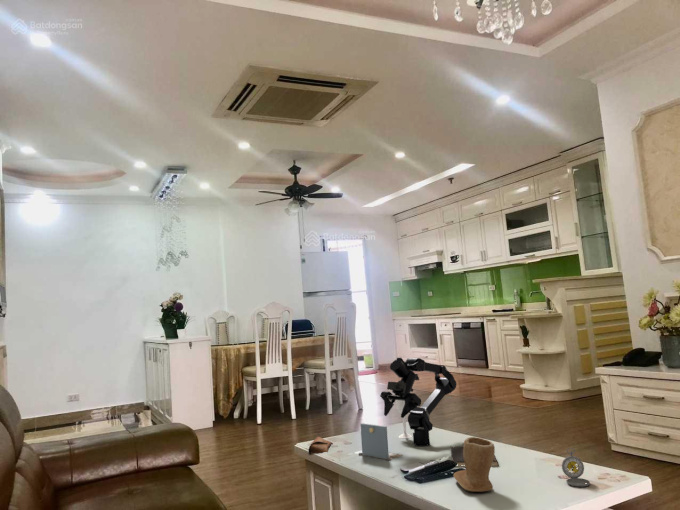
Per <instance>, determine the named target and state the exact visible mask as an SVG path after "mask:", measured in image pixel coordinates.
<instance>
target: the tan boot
mask: <svg viewBox="0 0 680 510" xmlns="http://www.w3.org/2000/svg"><path fill="white" fill-rule="evenodd" d="M463 441H464V442H463V446H464V448H463V457H464V461H465V466H464V467H465V469H463V470H458V471H456V472H454V473H453V477H454V480H456V482H457V483H458V485H460V487H461V488H462V489H464V490H465V491H467V492H474V493H475V492H476V493H477V492H478V493H480V492H481V493H482V492H488V491H492V490H493V484H492V482H491V480H490V477H489V475H490V470H491V467H492V466H491V465H492V462H493V459H494V455H495V452H496V450H495V445H494V443H493V442H492V441H490V440H488V439H484V438H482V437H476V436H469V437H466V438H465V440H463Z"/></svg>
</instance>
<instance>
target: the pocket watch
mask: <svg viewBox="0 0 680 510" xmlns="http://www.w3.org/2000/svg"><path fill="white" fill-rule="evenodd" d="M569 450H570V451H569ZM566 453H568V454H569V456H566V457H565V458H564V459H563V461H562V462H561V470H562V472H563V474H564V475H565V476H566V477H568V478H567V479H566V484H568V485H570V486H572V487H579V488H582V487H588V486H590V484H591V482H590V480H588V479H585V478H580V477H581V476H582V475H583V473H584V471H585V465H584V463H583V461H582V460H581V459H580V458H579V457H578V456H574V454H575V453H576V449H575V448H572V447H571V448H570V447H568V448H567V449H566ZM585 483H587V484H585Z"/></svg>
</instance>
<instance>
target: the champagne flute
mask: <svg viewBox="0 0 680 510" xmlns="http://www.w3.org/2000/svg"><path fill="white" fill-rule="evenodd" d="M395 403H396V405H395V408H396V411H397V412H398V414H400V415H401V413H402V410H403V408H404V405H405V401H402V400H395ZM402 425H403V433H402V434H400V435H399V436H398V438H399V439H411V438H412V439H413V435H411V434H409V433H408V432H407V421H406V416H404V417H403V418H402Z"/></svg>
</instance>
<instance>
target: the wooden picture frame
mask: <svg viewBox="0 0 680 510" xmlns="http://www.w3.org/2000/svg"><path fill="white" fill-rule="evenodd" d="M388 453H389V458H387V459H383V458H378V457H373V456H367V455H362V452H359V453H358V456H360V457H361V456H364V457H368V458H374V459H379V460H384V461H386V462H391V461H392V459H396V458H399V457H401V456H403V454H398V453H392V452H388Z"/></svg>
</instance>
